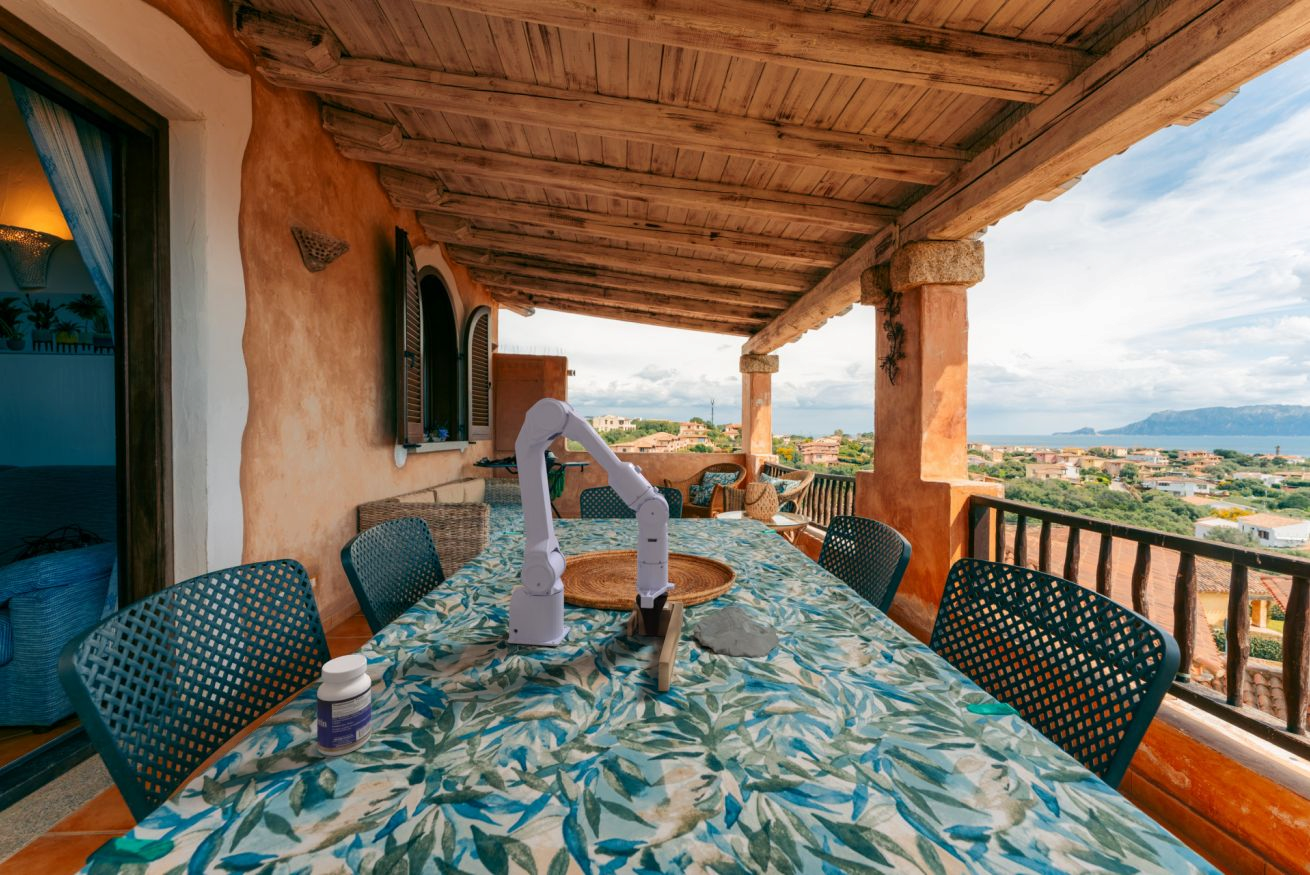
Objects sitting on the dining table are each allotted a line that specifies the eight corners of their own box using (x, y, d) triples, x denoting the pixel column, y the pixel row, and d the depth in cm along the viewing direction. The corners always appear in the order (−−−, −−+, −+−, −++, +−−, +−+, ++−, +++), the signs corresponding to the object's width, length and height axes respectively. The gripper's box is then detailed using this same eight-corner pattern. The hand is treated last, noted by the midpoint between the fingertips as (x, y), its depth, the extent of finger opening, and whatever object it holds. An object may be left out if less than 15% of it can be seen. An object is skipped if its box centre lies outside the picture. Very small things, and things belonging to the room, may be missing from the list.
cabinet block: (638, 634, 96) (638, 607, 96) (641, 626, 100) (642, 600, 100) (670, 636, 95) (670, 609, 95) (672, 628, 99) (672, 601, 99)
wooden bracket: (603, 686, 76) (604, 658, 76) (635, 618, 104) (635, 597, 104) (668, 691, 75) (668, 662, 75) (683, 621, 102) (683, 600, 102)
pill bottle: (315, 739, 63) (315, 659, 63) (368, 724, 66) (368, 648, 66) (318, 764, 58) (318, 678, 58) (374, 746, 62) (374, 665, 61)
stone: (693, 641, 87) (694, 597, 101) (691, 663, 88) (693, 616, 102) (786, 651, 86) (773, 605, 100) (783, 674, 86) (771, 625, 101)
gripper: (670, 572, 86) (669, 651, 86) (677, 551, 100) (676, 619, 100) (629, 570, 86) (628, 649, 87) (642, 550, 101) (641, 617, 101)
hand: (651, 633), depth 94 cm, fingers closed
